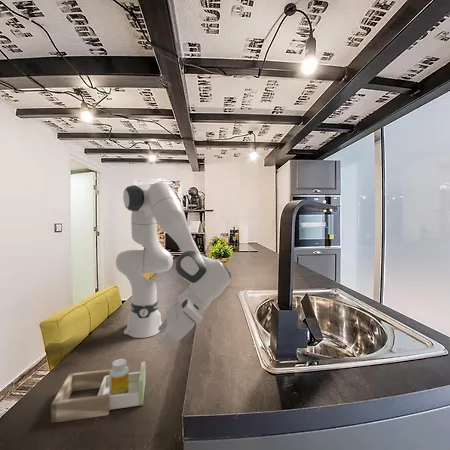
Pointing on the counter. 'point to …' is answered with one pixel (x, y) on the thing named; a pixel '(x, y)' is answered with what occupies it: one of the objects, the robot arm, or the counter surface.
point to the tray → (134, 391)
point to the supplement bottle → (119, 377)
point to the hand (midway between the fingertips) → (159, 336)
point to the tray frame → (80, 406)
